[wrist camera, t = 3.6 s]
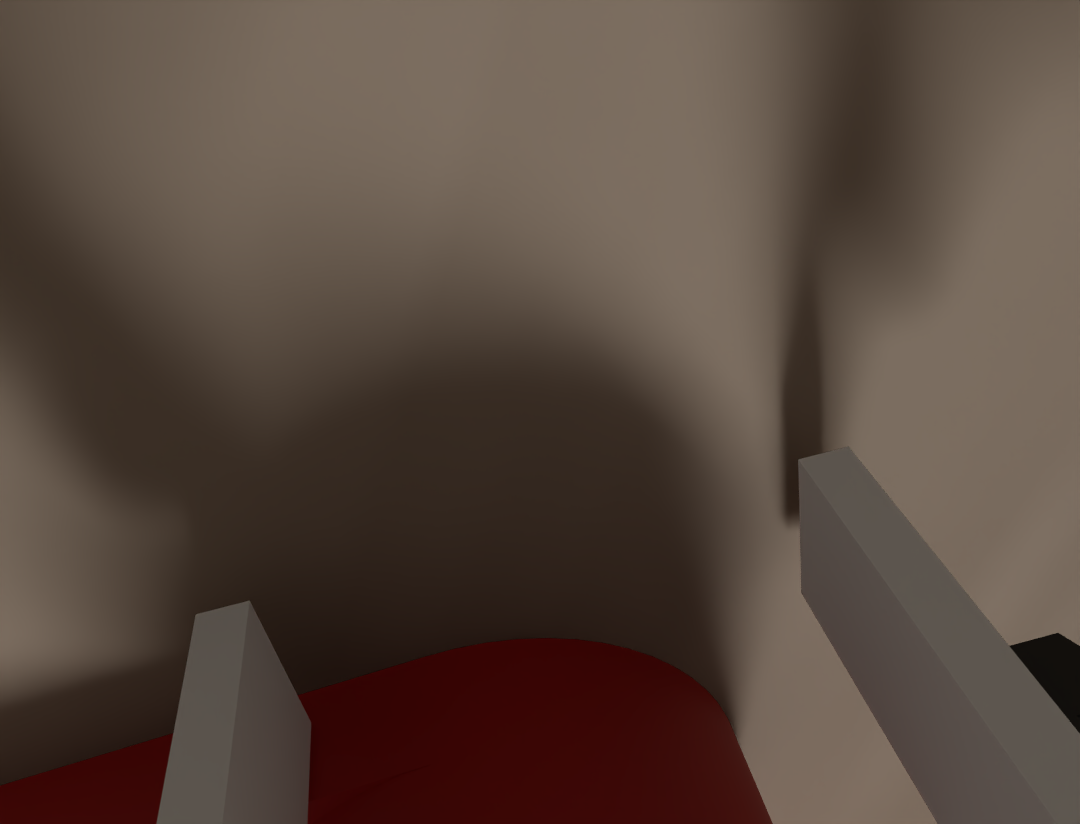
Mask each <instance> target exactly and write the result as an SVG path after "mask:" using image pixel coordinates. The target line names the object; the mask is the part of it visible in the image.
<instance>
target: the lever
mask: <svg viewBox="0 0 1080 824" xmlns="http://www.w3.org/2000/svg"><path fill="white" fill-rule="evenodd" d="M298 697H299V699H300V701H301V703H302V705H303V707H304V709H305V711H306V713H307V715H308V717H309V719H310V721H311V743H310V770H309V797H308V823H307V824H773V823H772V821H771V819H770V816H769V814H768V812H767V809H766V807H765V805H764V802H763V800H762V797H761V795H760V793H759V790H758V788H757V786H756V783H755V781H754V779H753V776H752V774H751V772H750V769H749V767H748V765H747V762H746V760H745V758H744V755H743V753H742V751H741V748H740V746H739V744H738V741H737V739H736V736H735V734H734V732H733V729H732V727H731V725H730V722H729V720H728V718H727V716H726V715H725V713H724V711H723V710H722V708H721V707H720V705H719V703H718V702H717V701H716V700H715V699H714V698H713V697H712V696H711V694H710V693H709V692H708V691H707V690H706V689H705V688H704V687H702V686H701V685H700V684H699V683H698V682H696V681H695V680H694V679H693V678H692V677H690V676H689V675H687V674H685V673H684V672H682V671H680V670H679V669H677V668H676V667H674V666H672V665H670V664H668V663H666V662H663V661H661V660H659V659H657V658H655V657H653V656H650V655H647V654H644V653H641V652H638V651H635V650H632V649H629V648H624V647H620V646H615V645H611V644H606V643H601V642H593V641H585V640H577V639H557V638H534V639H514V640H505V641H496V642H488V643H482V644H476V645H471V646H466V647H461V648H456V649H452V650H448V651H444V652H440V653H437V654H433V655H429V656H426V657H423V658H419V659H416V660H413V661H409V662H406V663H403V664H399V665H396V666H393V667H390V668H386V669H383V670H380V671H376V672H373V673H370V674H367V675H363V676H360V677H357V678H353V679H350V680H347V681H343V682H340V683H337V684H334V685H330V686H327V687H324V688H320V689H317V690H314V691H310V692H307V693H304V694H301V695H298ZM172 738H173V733H172V734H169V735H165V736H162V737H159V738H156V739H152V740H149V741H146V742H142V743H139V744H136V745H132V746H129V747H126V748H123V749H119V750H116V751H113V752H109V753H106V754H103V755H100V756H96V757H93V758H90V759H86V760H83V761H80V762H76V763H73V764H70V765H67V766H63V767H60V768H57V769H53V770H50V771H47V772H43V773H40V774H37V775H34V776H30V777H27V778H24V779H20V780H17V781H14V782H11V783H7V784H4V785H1V786H0V824H156V823H157V818H158V813H159V807H160V802H161V797H162V791H163V786H164V781H165V775H166V770H167V765H168V760H169V754H170V749H171V744H172Z"/></svg>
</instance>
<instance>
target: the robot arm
mask: <svg viewBox="0 0 1080 824" xmlns="http://www.w3.org/2000/svg"><path fill="white" fill-rule="evenodd" d="M798 469H799V511H800V553H801V593H802V595H803V596H804V598H805V600H806V602H807V603H808V605H809V607H810V608H811V610H812V612H813V613H814V615H815V617H816V618H817V620H818V622H819V624H820V625H821V627H822V629H823V630H824V632H825V634H826V635H827V637H828V639H829V640H830V642H831V644H832V646H833V647H834V649H835V651H836V652H837V654H838V656H839V657H840V659H841V661H842V662H843V664H844V666H845V668H846V669H847V671H848V673H849V674H850V676H851V678H852V679H853V681H854V683H855V684H856V686H857V688H858V690H859V691H860V693H861V695H862V696H863V698H864V700H865V701H866V703H867V705H868V706H869V708H870V710H871V712H872V713H873V715H874V717H875V718H876V720H877V722H878V723H879V725H880V727H881V728H882V730H883V732H884V734H885V735H886V737H887V739H888V740H889V742H890V744H891V745H892V747H893V749H894V751H895V752H896V754H897V756H898V757H899V759H900V761H901V762H902V764H903V766H904V767H905V769H906V771H907V773H908V774H909V776H910V778H911V779H912V781H913V783H914V784H915V786H916V788H917V789H918V791H919V793H920V795H921V796H922V798H923V800H924V801H925V803H926V805H927V806H928V808H929V810H930V811H931V813H932V815H933V817H934V818H935V820H936V822H937V823H938V824H1080V646H1079V645H1077V644H1075V643H1074V642H1072V641H1071V640H1069V639H1067V638H1066V637H1064V636H1063V635H1061V634H1059V633H1056V634H1052V635H1048V636H1045V637H1041V638H1037V639H1034V640H1030V641H1026V642H1022V643H1019V644H1015V645H1011V646H1009V645H1008V644H1007V643H1006V641H1005V640H1004V639H1003V638H1002V636H1001V635H1000V634H999V633H998V631H997V630H996V629H995V628H994V627H993V625H992V624H991V623H990V622H989V620H988V619H987V618H986V617H985V615H984V614H983V613H982V612H981V610H980V609H979V608H978V607H977V605H976V604H975V603H974V602H973V600H972V599H971V598H970V597H969V595H968V594H967V593H966V592H965V590H964V589H963V588H962V587H961V585H960V584H959V583H958V582H957V581H956V579H955V578H954V577H953V576H952V574H951V573H950V572H949V571H948V569H947V568H946V567H945V566H944V564H943V563H942V562H941V561H940V559H939V558H938V557H937V556H936V554H935V553H934V552H933V551H932V549H931V548H930V547H929V546H928V544H927V543H926V542H925V541H924V539H923V538H922V537H921V536H920V535H919V533H918V532H917V531H916V530H915V528H914V527H913V526H912V525H911V523H910V522H909V521H908V520H907V518H906V517H905V516H904V515H903V513H902V512H901V511H900V510H899V508H898V507H897V506H896V505H895V503H894V502H893V501H892V500H891V498H890V497H889V496H888V495H887V493H886V492H885V491H884V490H883V489H882V487H881V486H880V485H879V484H878V482H877V481H876V480H875V479H874V477H873V476H872V475H871V474H870V472H869V471H868V470H867V469H866V467H865V466H864V465H863V464H862V462H861V461H860V460H859V459H858V457H857V456H856V455H855V454H854V452H853V451H852V450H851V449H850V447H849V446H848V447H845V448H841V449H837V450H833V451H829V452H825V453H821V454H817V455H813V456H810V457H806V458H802V459H798ZM310 743H311V721H310V719H309V717H308V715H307V713H306V711H305V709H304V707H303V705H302V703H301V701H300V699H299V697H298V695H297V693H296V691H295V689H294V687H293V686H292V684H291V682H290V680H289V678H288V676H287V674H286V672H285V670H284V668H283V666H282V664H281V662H280V660H279V658H278V656H277V654H276V652H275V650H274V648H273V646H272V644H271V642H270V640H269V638H268V636H267V634H266V632H265V630H264V628H263V626H262V624H261V622H260V620H259V618H258V616H257V614H256V612H255V610H254V608H253V606H252V604H251V602H250V601H246V602H242V603H238V604H234V605H230V606H226V607H222V608H219V609H215V610H211V611H207V612H203V613H199V614H196V616H195V621H194V627H193V632H192V637H191V643H190V648H189V653H188V658H187V664H186V669H185V674H184V680H183V685H182V690H181V696H180V701H179V706H178V712H177V717H176V722H175V728H174V733H173V738H172V744H171V749H170V754H169V760H168V765H167V770H166V775H165V781H164V786H163V791H162V797H161V802H160V807H159V813H158V818H157V823H156V824H307V823H308V797H309V770H310Z"/></svg>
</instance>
